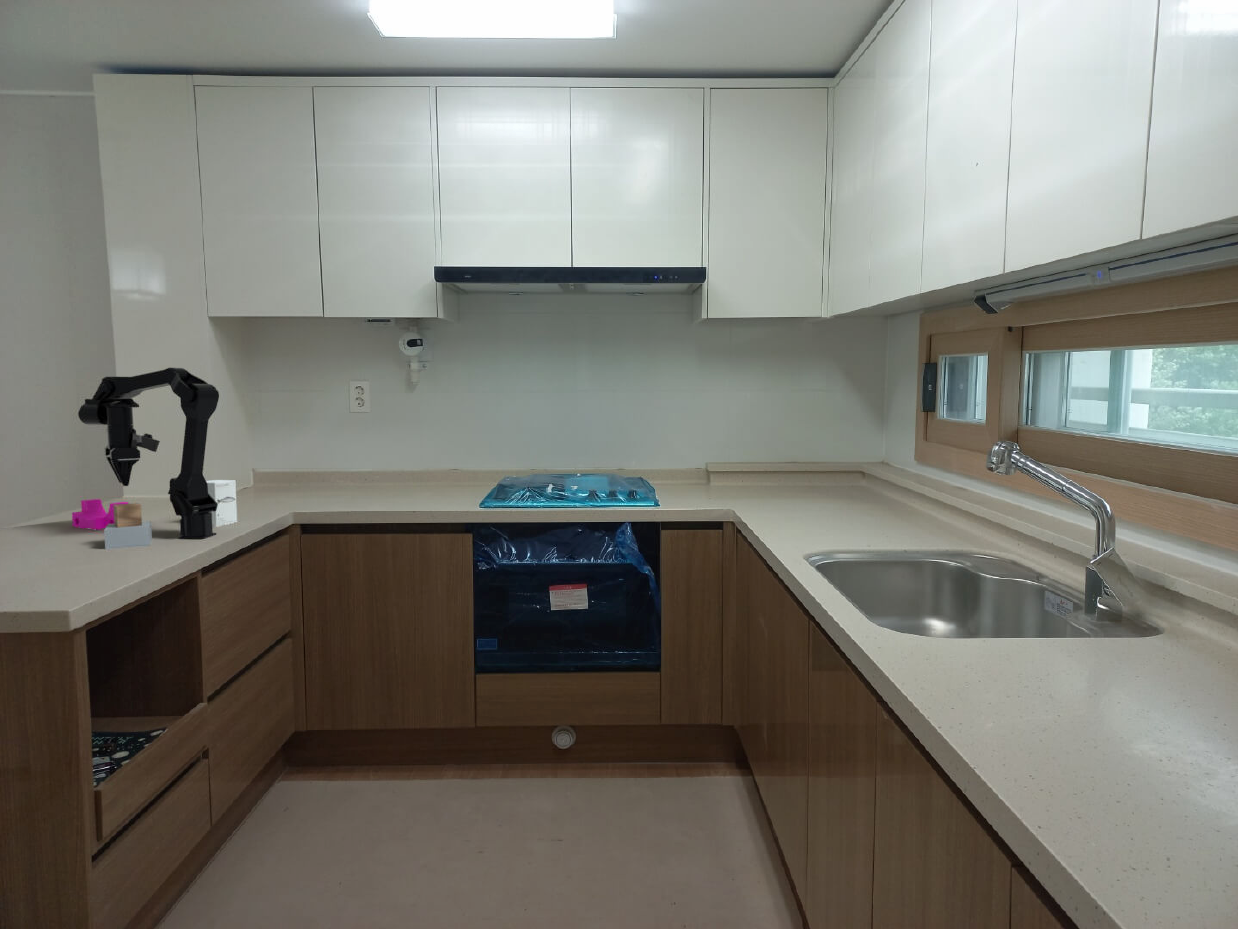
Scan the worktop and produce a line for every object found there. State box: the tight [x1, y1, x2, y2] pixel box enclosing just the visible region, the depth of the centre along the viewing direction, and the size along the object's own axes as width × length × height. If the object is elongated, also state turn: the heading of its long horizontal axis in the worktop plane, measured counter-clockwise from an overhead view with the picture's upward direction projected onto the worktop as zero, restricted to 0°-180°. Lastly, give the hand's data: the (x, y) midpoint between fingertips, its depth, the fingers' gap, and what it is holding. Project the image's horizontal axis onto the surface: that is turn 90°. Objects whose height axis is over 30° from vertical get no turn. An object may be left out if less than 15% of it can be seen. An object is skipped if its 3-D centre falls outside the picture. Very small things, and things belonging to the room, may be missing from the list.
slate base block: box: [103, 520, 153, 550], centre depth 185 cm, size 9×9×5 cm
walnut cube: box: [113, 502, 143, 528], centre depth 185 cm, size 5×5×5 cm
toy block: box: [71, 498, 130, 530], centre depth 207 cm, size 15×6×8 cm, turn 64°
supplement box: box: [206, 479, 238, 528], centre depth 211 cm, size 7×7×13 cm
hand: (123, 484), depth 199 cm, fingers open, 9 cm apart
